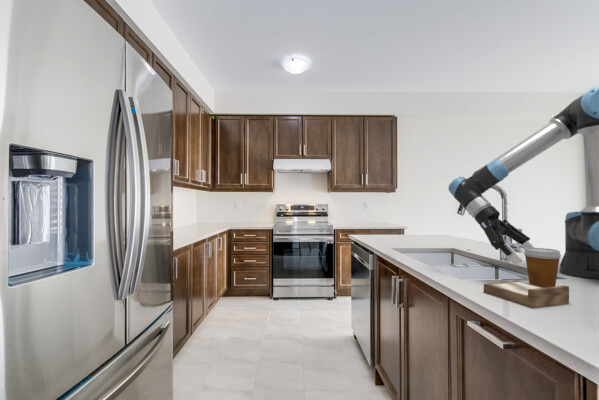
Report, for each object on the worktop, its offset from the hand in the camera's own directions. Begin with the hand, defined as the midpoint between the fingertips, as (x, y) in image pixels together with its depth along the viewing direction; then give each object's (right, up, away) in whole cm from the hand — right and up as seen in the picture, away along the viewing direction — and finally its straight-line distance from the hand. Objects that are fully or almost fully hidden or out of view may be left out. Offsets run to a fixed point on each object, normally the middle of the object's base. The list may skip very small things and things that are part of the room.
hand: (529, 261), depth 105 cm
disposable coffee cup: (+2, -8, -2) cm, 9 cm away
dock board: (-10, -8, -12) cm, 18 cm away
